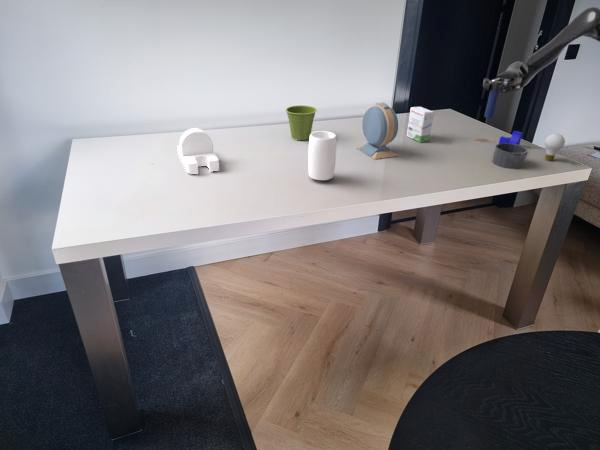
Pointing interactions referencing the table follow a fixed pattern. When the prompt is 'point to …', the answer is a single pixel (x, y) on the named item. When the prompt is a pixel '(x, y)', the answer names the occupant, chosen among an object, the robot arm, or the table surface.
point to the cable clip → (512, 138)
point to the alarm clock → (379, 131)
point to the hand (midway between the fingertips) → (493, 88)
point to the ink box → (420, 124)
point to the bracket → (197, 151)
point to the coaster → (482, 140)
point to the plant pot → (301, 121)
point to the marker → (492, 99)
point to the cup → (322, 155)
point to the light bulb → (553, 145)
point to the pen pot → (509, 155)
